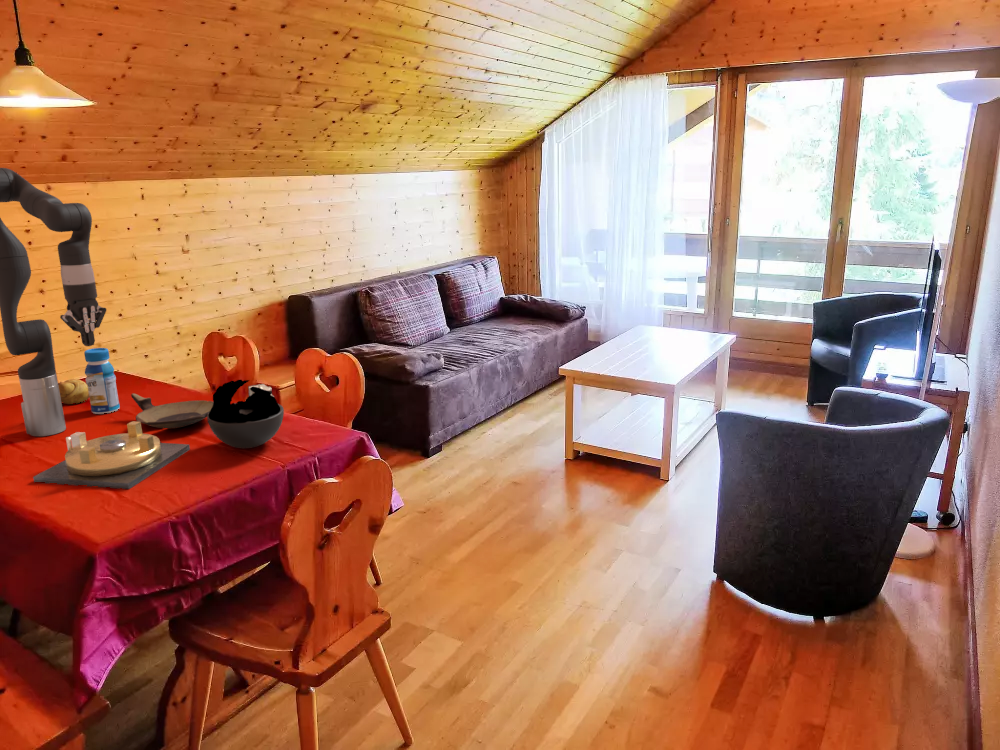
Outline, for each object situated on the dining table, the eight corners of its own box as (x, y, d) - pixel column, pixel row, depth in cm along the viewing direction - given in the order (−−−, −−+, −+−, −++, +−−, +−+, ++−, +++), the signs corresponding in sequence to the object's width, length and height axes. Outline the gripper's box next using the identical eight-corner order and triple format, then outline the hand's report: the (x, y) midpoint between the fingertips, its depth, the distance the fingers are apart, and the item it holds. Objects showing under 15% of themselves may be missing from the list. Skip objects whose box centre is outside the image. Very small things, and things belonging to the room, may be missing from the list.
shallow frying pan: (157, 444, 206) (153, 419, 204) (120, 420, 226) (116, 396, 224) (233, 425, 221) (230, 401, 219) (192, 403, 241) (189, 381, 239)
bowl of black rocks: (211, 438, 210) (204, 375, 205) (283, 429, 217) (278, 368, 211) (210, 464, 192) (202, 395, 187) (289, 453, 198) (283, 387, 193)
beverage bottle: (123, 411, 234) (114, 350, 229) (94, 416, 229) (84, 354, 224) (116, 404, 241) (107, 345, 235) (88, 410, 235) (78, 349, 230)
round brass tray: (177, 445, 200) (174, 422, 198) (128, 477, 179) (124, 453, 178) (103, 441, 203) (99, 419, 201) (46, 473, 182) (41, 449, 180)
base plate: (34, 482, 181) (28, 454, 179) (105, 444, 206) (101, 419, 204) (129, 489, 177) (124, 460, 175) (190, 449, 202) (186, 423, 200)
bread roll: (61, 397, 250) (57, 374, 247) (93, 393, 253) (89, 371, 251) (57, 407, 238) (53, 384, 236) (91, 403, 242) (87, 380, 240)
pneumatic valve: (260, 429, 217) (256, 390, 214) (250, 418, 226) (246, 381, 223) (279, 426, 220) (275, 387, 216) (268, 415, 229) (264, 378, 226)
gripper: (67, 285, 185) (78, 352, 190) (110, 278, 197) (119, 341, 202) (45, 284, 187) (57, 350, 192) (89, 277, 199) (99, 339, 204)
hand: (89, 345), depth 197 cm, fingers closed
